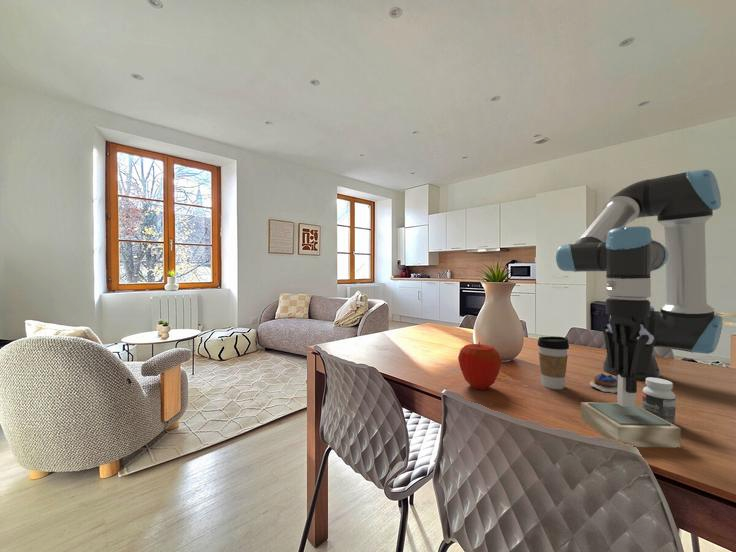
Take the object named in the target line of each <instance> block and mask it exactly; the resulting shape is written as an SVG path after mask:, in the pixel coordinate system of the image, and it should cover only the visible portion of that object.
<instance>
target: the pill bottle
mask: <svg viewBox="0 0 736 552" xmlns="http://www.w3.org/2000/svg"><path fill="white" fill-rule="evenodd" d="M644 383H645V385H646V386H644V387H643V388H642V396H641V397H642V398H641V399H642V402H641V403H642V404H641V405H642V406H641V408H643V409H645V410H647V411H648V412H650V413H652V414H654V415H656V416H658V417H660V418H662V419H664V420H666V421H668V422H669V423H671V424H673V425H675V426H676V398H677V397H676V394H675V393H674V392H673V391H672V389H674V383H673V382H672V381H670V380H668V379H664V378H661V377H660V378H652V377H648V378H646V380H645V382H644Z"/></svg>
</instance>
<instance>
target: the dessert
mask: <svg viewBox="0 0 736 552" xmlns="http://www.w3.org/2000/svg"><path fill="white" fill-rule="evenodd" d="M600 373H601V374H597V375H595V376H594V379H592V380H591V381H589V385H590V386H591V387H593V388H595V389H598V390H599V391H601V392H605V393H606V392H607V393H608V392H609V393H612V394H614V393H617V378H616V377H614V376H613V374H608V375H607V374H604V373H602V372H600Z"/></svg>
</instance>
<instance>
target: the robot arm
mask: <svg viewBox="0 0 736 552" xmlns="http://www.w3.org/2000/svg"><path fill="white" fill-rule="evenodd" d="M718 183H719V182H718V180H717V177H716V175H715V174H714V173H713V171H712V170H709V169H699V170H692V171H685V172H680V173H676V174H670V175H665V176H660V177H655V178H648V179H643V180H640V181H637V182H634V183H632V184H630V185H628V186H626V187H623V188H622V189H620V190H619V191H617V192H616V193H615V194H613V195H612V196H611V197H610V198H609V199H607V200H606V202H605V203H604V204H603V206H602V209H601V210H602V211H601V212H600V214H599V215H598V216H597V217H596V219H595V220H594V221H593V222H592V223H591V224H590V225H589V226H588V228H586V230H585V231H584V232H583V233H582V235H581V236H580V237H579V238H578V240H576V241H575V242H574V244H573V243H568V244H563V245H560V246H559V247H558V249H557V250H556V254H555V260H556V261H555V262H556V265H557V267H558V269H560V270H561V271H563V272H574V273H578V272H605V273H606V276H605V277H606V284H605V285H606V287H605V288H606V289H605V290H606V292H605V295H606V296H607V297H608V298H607V299H605V313H606V314H607V315H608V316H609V319H608V322H609V323H607V324H603V325H601V331H602V333H603V336H604V343H605V349H606V356H605V358H604V361H602V363H603V364H602V370H603V371H604V372H606V373H608V374H610V375H612V376H613V375H614V376H616V380H617V392H616V394H617V397H616V398H617V399H616V400H617V401H616V403H617V404H619V405H620V406H622V407H635V405H636V394H637V391H638V389H637V386H638V380H640V381H646V378H648V377H652V378H660V379H661V370H660V368H659V366H658V363H657V360H656V357H655V354H654V347H655V348H660V349H661V348H662V349H668V350H676V351H681V352H682V351H683V352H687V353H692V354H693V353H694V354H695V353H696V354H706V355H708V354H709V355H710V354H712V353H714V352H715V351H716V349H717V347H718V344H719V342H720V337H721V335H722V328H723V317H722V316H720V315H717V314H716V315H715V308H714V307H712V306H711V305H709V304H708V303H707V301H708V300H707V266H706V265H707V264H706V263H707V259H706V258H707V257H706V256H707V255H706V249H707V248H706V223H707V221H709V220H710V219H711V218H712V217H713V216H714V215H713V214H714V212H713V211H717V210H719V209H720V208H721V206H722V202H721V201H722V200H721V198H722V197H721V191H720V187H719V184H718ZM646 217H647V218H648V217H649V218H650V217H657V218H656V219H657V223H659V224H660V225H662V226H663V227H664V245H663V244H662V243H661V242H658V241H657V240H653V238H652V231H651V229H650V227H647V226H640V225H639V226H637V225H636V226H627V225H629V224H630V223H632V222H634V221H635V220H636V219H640V218H646ZM664 265H665V283H666V285H665V286H666V287H665V288H666V289H665V290H666V302H665V303H664V304H662V305H661V306H660V310H659V311H656V310H655V308H654V306H653V305H651V301H650V300H649V299H648V298H651V296H652V291H651V289H652V287H651V285H652V284H651V283H652V282H651V273H652V272H653V271H657V270H659V269H660V268H662V267H664Z"/></svg>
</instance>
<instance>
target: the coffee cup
mask: <svg viewBox="0 0 736 552" xmlns="http://www.w3.org/2000/svg"><path fill="white" fill-rule="evenodd" d="M537 346H538V349H539V351H538V358H539V368H540V376H541V379H540V380H541V386H543V387H544V388H548V389H552V390H564V388H565V382H566V373H567V364H568V363H567V362H568V357H569V356H568V350H569V349H570V348H569V347H570V345H569V339H568V338H567V337H563V336H540V337H538V341H537Z"/></svg>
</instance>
